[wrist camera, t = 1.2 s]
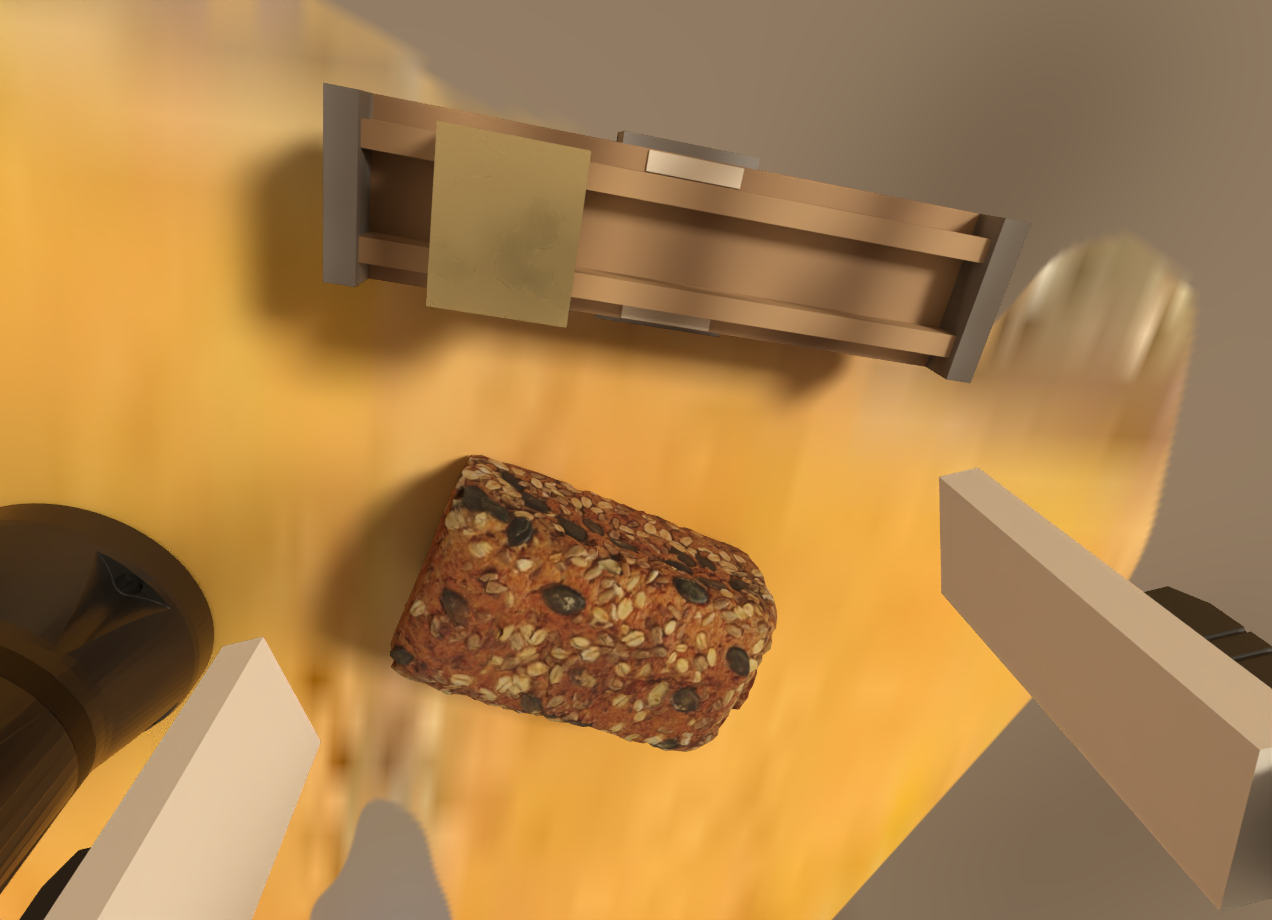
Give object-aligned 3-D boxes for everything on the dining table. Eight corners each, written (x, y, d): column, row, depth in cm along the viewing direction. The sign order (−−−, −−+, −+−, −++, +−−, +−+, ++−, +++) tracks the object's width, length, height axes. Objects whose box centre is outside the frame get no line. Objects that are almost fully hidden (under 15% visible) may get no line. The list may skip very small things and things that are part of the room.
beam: (371, 264, 34) (323, 294, 28) (376, 84, 31) (323, 66, 24) (895, 349, 39) (966, 393, 32) (945, 197, 36) (1036, 210, 29)
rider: (448, 279, 29) (425, 306, 25) (459, 124, 27) (436, 120, 22) (566, 298, 30) (566, 327, 25) (586, 149, 28) (591, 150, 23)
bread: (409, 580, 42) (366, 699, 33) (473, 430, 39) (445, 518, 30) (679, 669, 47) (707, 795, 38) (758, 544, 43) (809, 649, 34)
